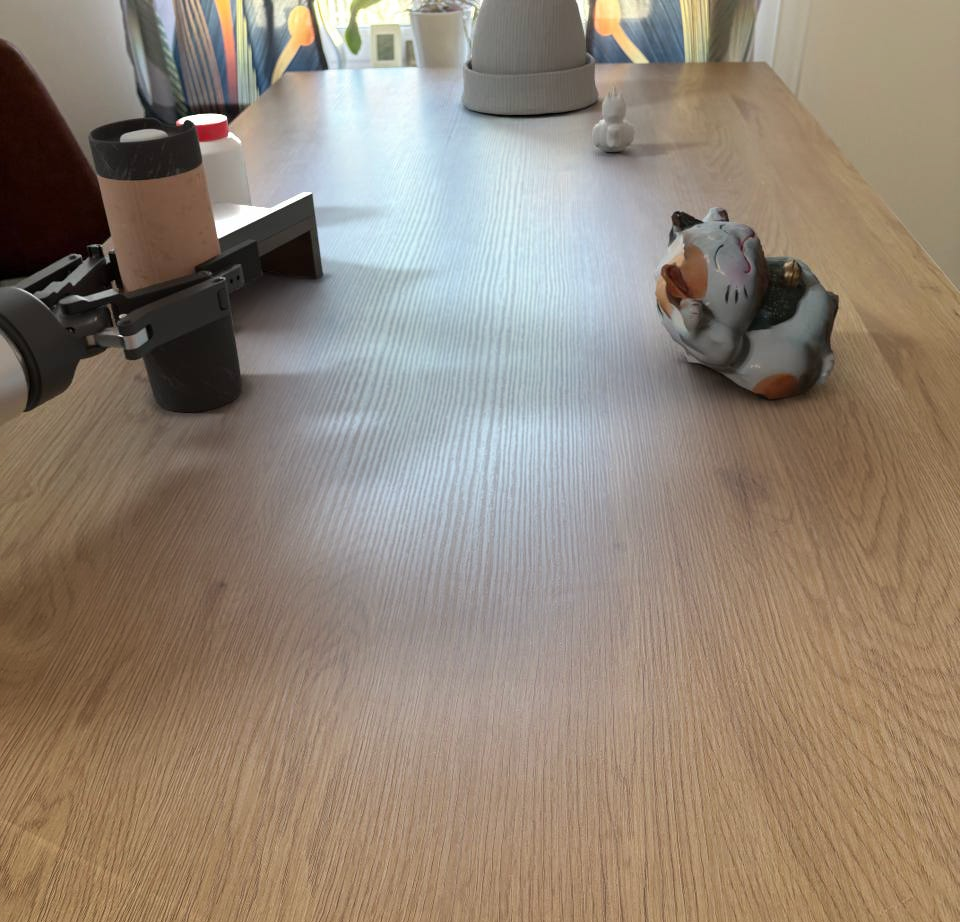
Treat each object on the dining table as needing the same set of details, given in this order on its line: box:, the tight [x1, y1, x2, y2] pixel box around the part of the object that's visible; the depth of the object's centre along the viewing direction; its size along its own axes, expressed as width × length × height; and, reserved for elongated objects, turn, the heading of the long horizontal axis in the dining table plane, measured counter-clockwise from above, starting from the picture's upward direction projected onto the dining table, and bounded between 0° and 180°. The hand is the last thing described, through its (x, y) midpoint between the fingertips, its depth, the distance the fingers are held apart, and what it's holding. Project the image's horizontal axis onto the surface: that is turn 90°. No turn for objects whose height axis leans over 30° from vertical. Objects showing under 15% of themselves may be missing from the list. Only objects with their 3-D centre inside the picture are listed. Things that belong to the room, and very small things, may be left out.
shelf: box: [108, 191, 324, 294], centre depth 103 cm, size 12×16×8 cm
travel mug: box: [87, 117, 243, 413], centre depth 82 cm, size 8×8×20 cm
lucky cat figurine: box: [653, 206, 840, 401], centre depth 84 cm, size 15×12×14 cm
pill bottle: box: [175, 113, 253, 206], centre depth 120 cm, size 8×8×11 cm
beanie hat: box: [460, 0, 599, 116], centre depth 163 cm, size 21×21×20 cm
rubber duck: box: [591, 83, 635, 153], centre depth 139 cm, size 5×7×8 cm
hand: (212, 251), depth 85 cm, fingers closed on travel mug, 8 cm apart
